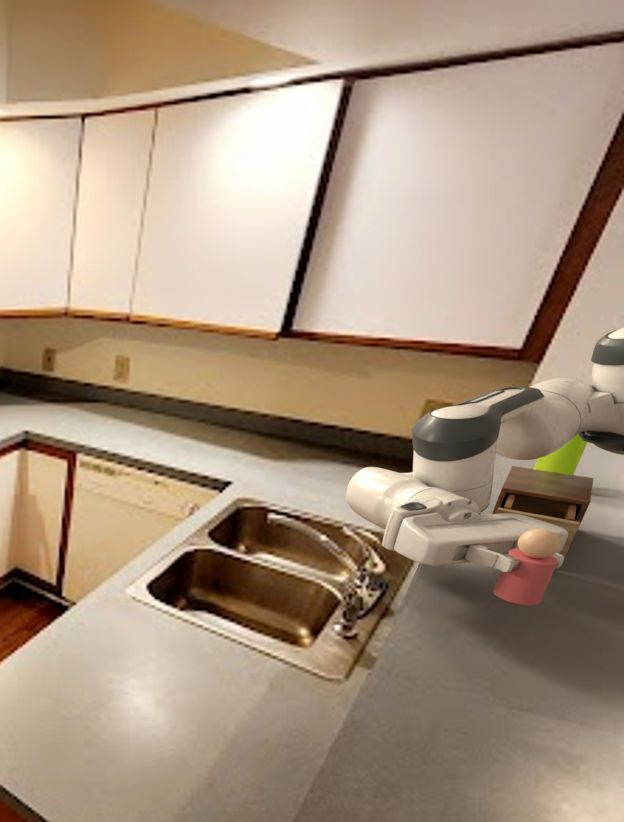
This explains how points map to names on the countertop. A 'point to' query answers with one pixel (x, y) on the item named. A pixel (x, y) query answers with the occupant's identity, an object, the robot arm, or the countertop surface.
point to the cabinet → (548, 488)
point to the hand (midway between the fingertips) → (535, 565)
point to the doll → (530, 568)
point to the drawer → (545, 513)
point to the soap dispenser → (563, 457)
